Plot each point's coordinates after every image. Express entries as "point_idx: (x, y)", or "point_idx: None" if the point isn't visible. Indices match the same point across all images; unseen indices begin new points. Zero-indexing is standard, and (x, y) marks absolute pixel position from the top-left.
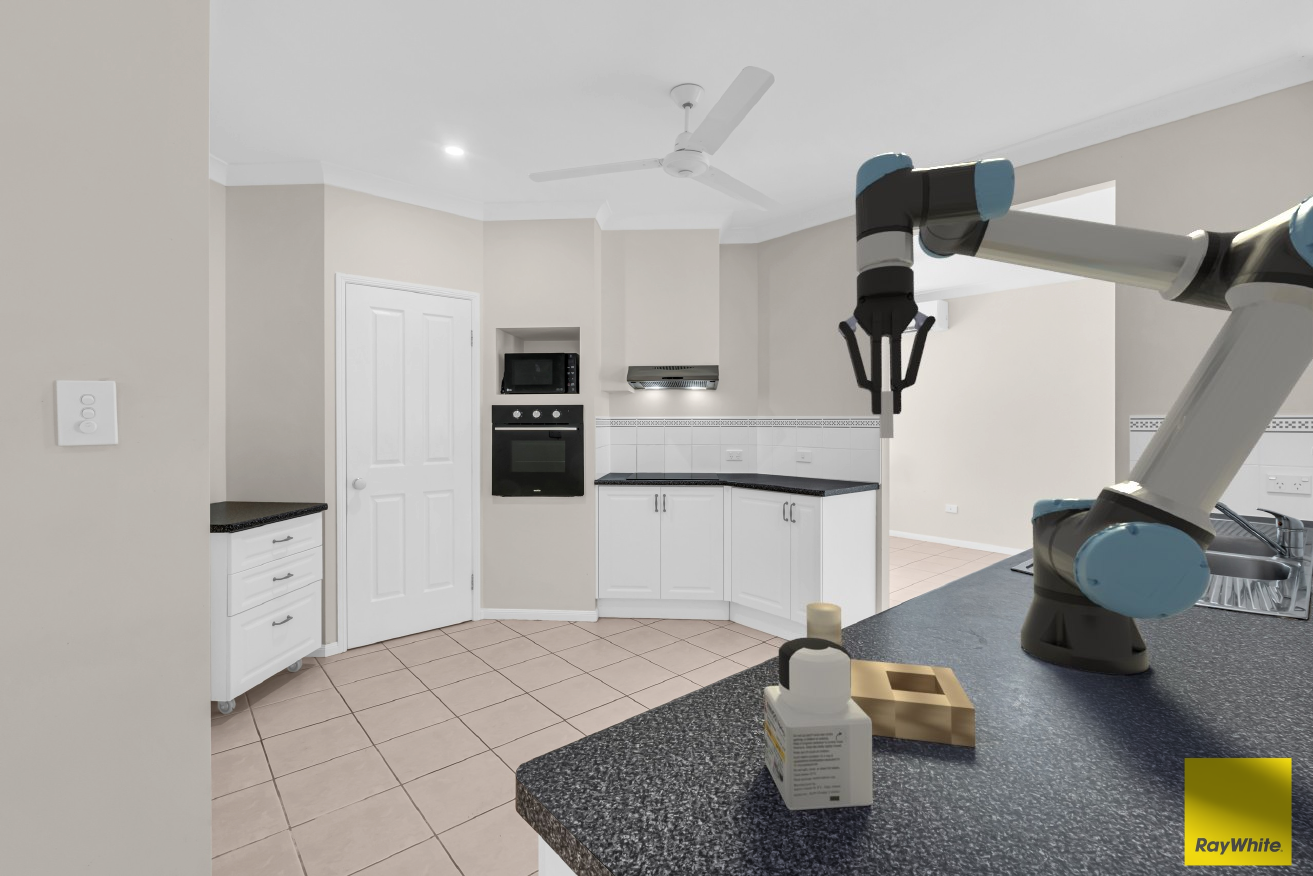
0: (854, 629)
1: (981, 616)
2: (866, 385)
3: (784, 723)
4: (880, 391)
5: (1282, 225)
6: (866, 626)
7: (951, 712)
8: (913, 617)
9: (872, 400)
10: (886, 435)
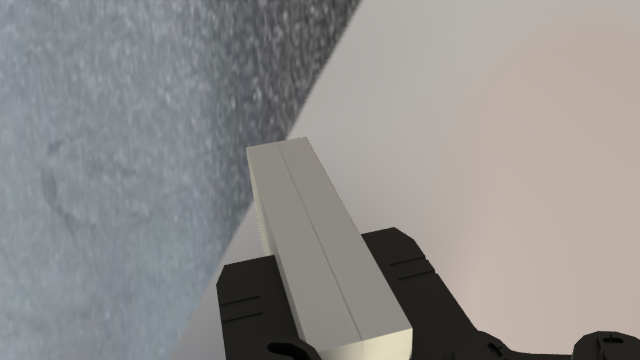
0: None
1: (59, 313)
2: (574, 351)
3: None
4: (417, 357)
5: None
6: None
7: None
8: (175, 259)
9: (446, 287)
10: (285, 146)
